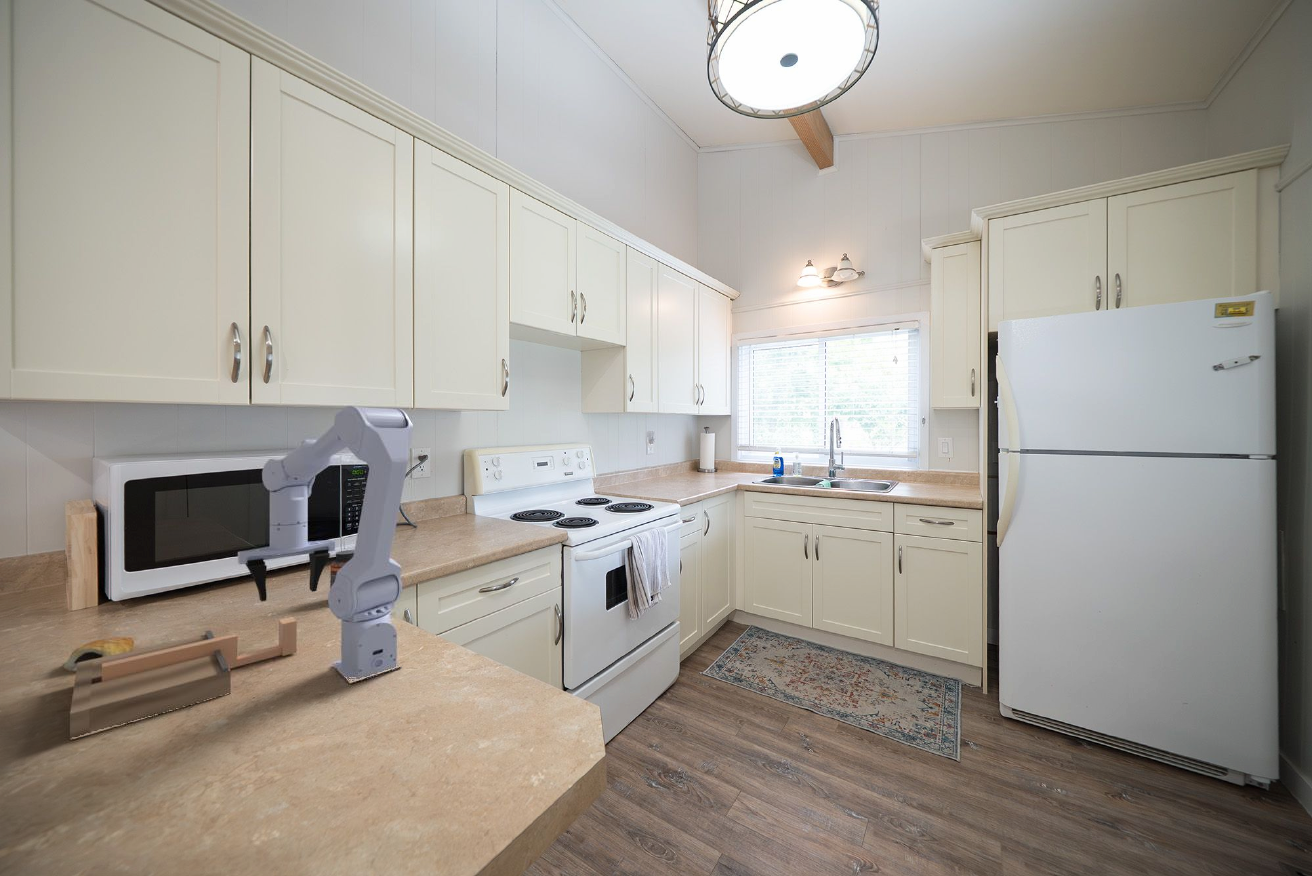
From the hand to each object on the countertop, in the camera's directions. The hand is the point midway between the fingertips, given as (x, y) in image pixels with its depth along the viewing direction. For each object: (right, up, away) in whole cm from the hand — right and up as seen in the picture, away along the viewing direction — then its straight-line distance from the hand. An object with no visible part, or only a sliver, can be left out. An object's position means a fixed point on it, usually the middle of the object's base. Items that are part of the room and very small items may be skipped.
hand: (288, 594), depth 92 cm
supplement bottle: (-5, -9, +24) cm, 26 cm away
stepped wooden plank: (-4, -9, -12) cm, 16 cm away
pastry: (-27, -9, -8) cm, 29 cm away
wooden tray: (-7, -9, -16) cm, 20 cm away
